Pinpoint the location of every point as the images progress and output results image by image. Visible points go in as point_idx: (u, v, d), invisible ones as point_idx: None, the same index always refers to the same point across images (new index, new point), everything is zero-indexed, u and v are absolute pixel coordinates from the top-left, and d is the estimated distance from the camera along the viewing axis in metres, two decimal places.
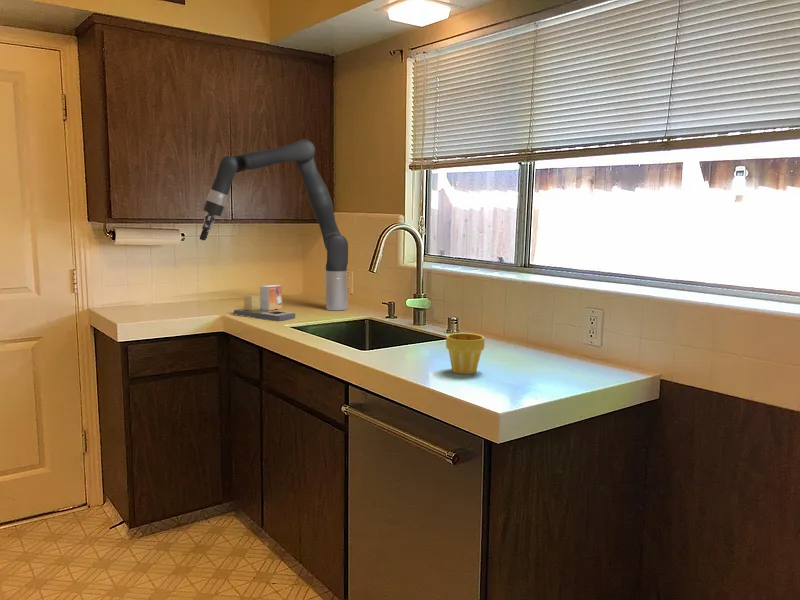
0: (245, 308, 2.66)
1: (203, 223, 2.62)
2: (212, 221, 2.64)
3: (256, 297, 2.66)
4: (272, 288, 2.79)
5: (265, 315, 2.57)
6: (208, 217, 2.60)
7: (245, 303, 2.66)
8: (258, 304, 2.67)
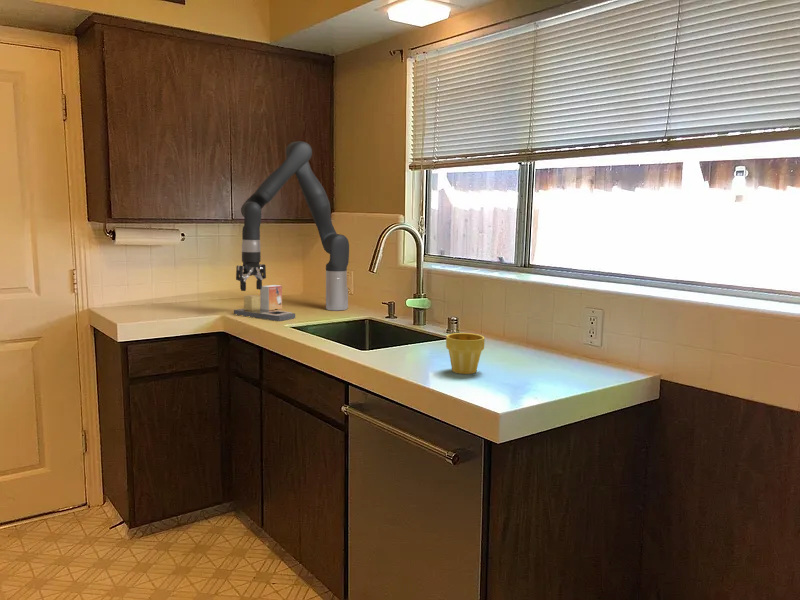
0: (245, 308, 2.66)
1: None
2: (249, 270, 2.62)
3: (256, 297, 2.66)
4: (272, 288, 2.79)
5: (265, 315, 2.57)
6: (237, 267, 2.60)
7: (245, 303, 2.66)
8: (258, 304, 2.67)
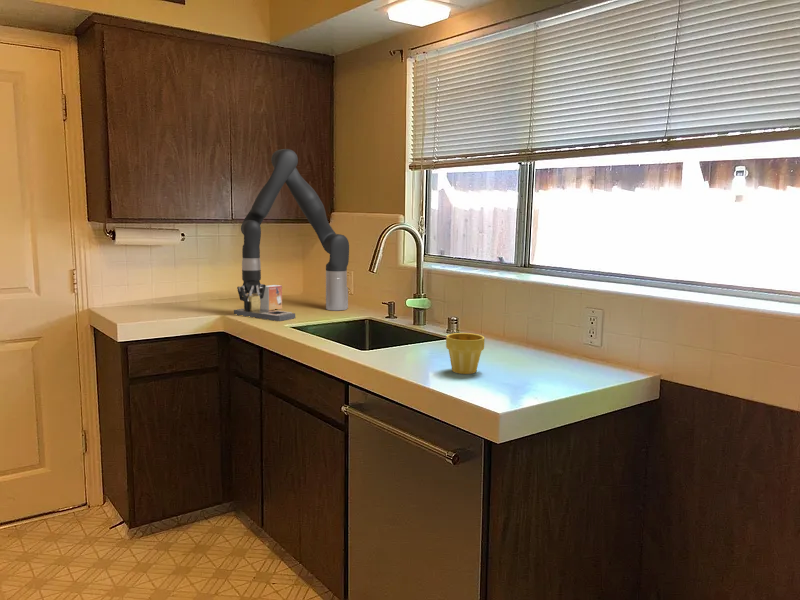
0: None
1: None
2: (250, 289, 2.64)
3: (256, 296, 2.66)
4: (272, 288, 2.79)
5: (265, 315, 2.57)
6: (238, 289, 2.61)
7: None
8: (257, 304, 2.67)
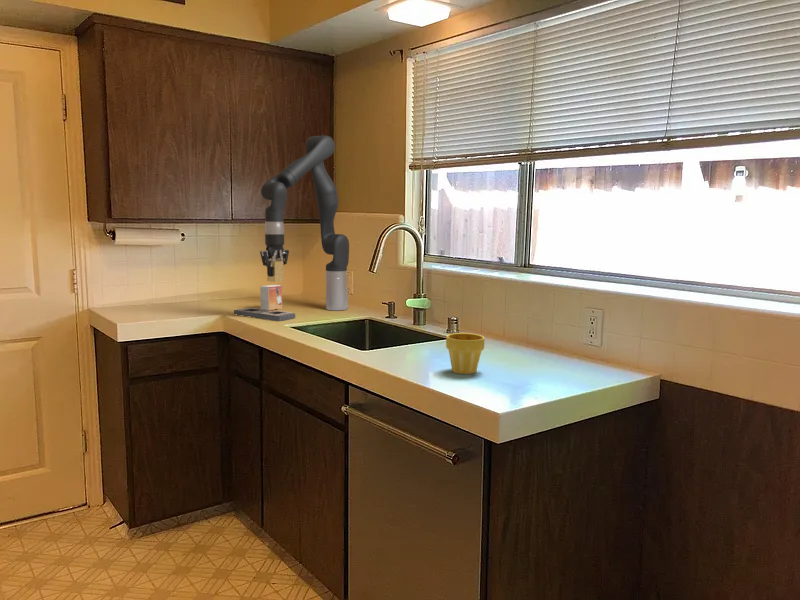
0: None
1: None
2: (273, 253, 2.54)
3: (280, 262, 2.57)
4: (272, 288, 2.79)
5: (265, 315, 2.57)
6: (261, 253, 2.52)
7: None
8: (281, 270, 2.58)
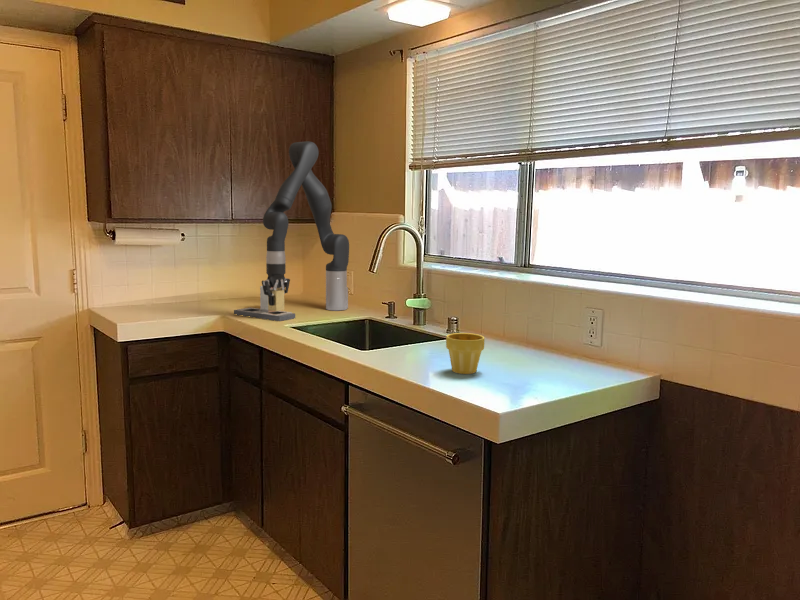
0: None
1: None
2: (274, 283, 2.55)
3: (281, 291, 2.58)
4: None
5: (265, 315, 2.57)
6: (263, 283, 2.53)
7: None
8: (282, 299, 2.59)
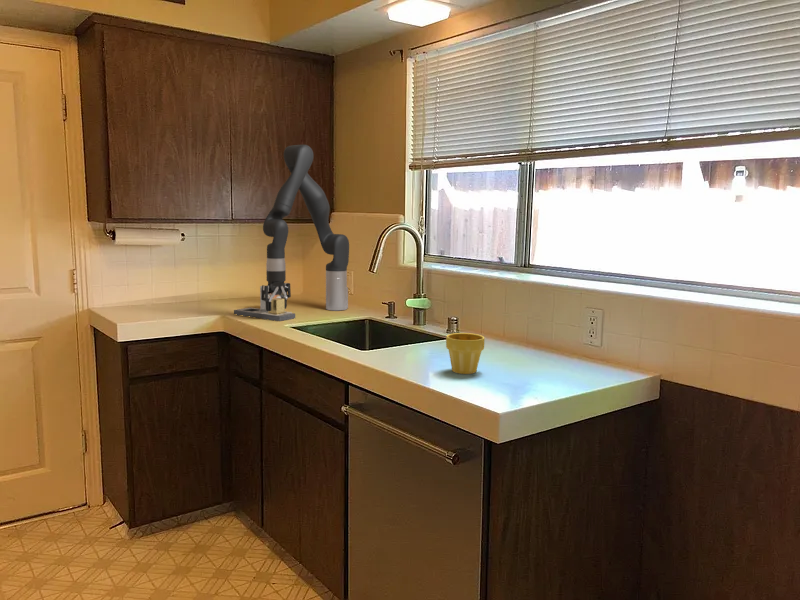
0: (269, 312, 2.59)
1: None
2: (274, 289, 2.56)
3: (281, 299, 2.58)
4: None
5: (265, 315, 2.57)
6: (262, 287, 2.53)
7: None
8: (282, 308, 2.59)
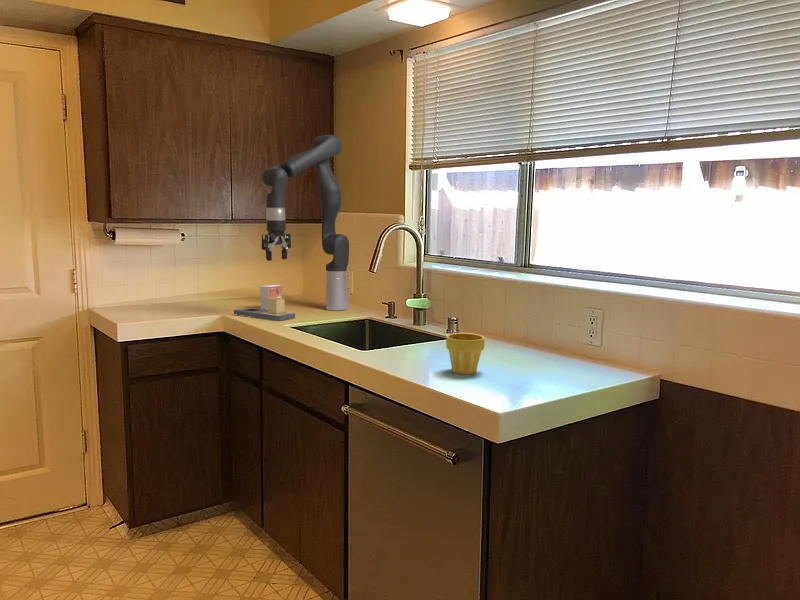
0: (269, 312, 2.59)
1: None
2: (274, 239, 2.55)
3: (281, 299, 2.58)
4: (272, 288, 2.79)
5: (265, 315, 2.57)
6: (263, 236, 2.52)
7: (269, 306, 2.58)
8: (282, 308, 2.59)
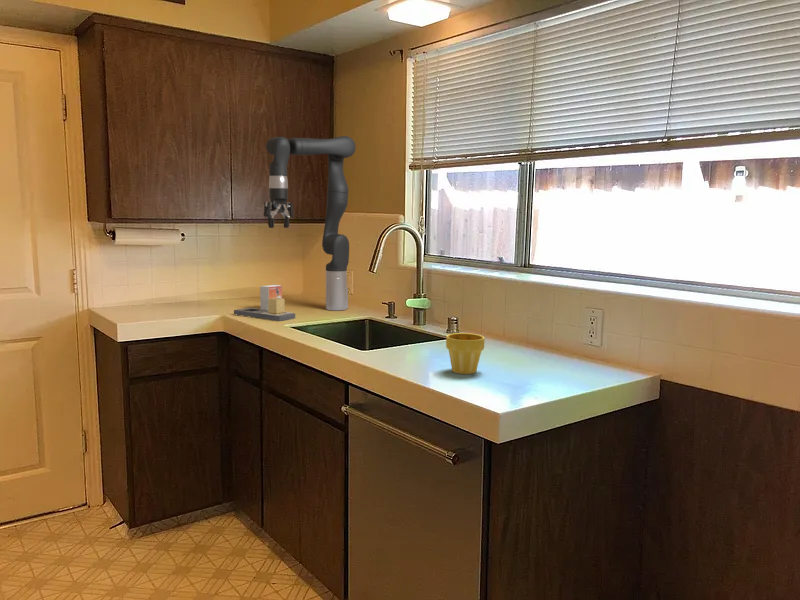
0: (269, 312, 2.59)
1: None
2: (277, 206, 2.60)
3: (281, 299, 2.58)
4: (272, 288, 2.79)
5: (265, 315, 2.57)
6: (265, 203, 2.57)
7: (269, 306, 2.58)
8: (282, 308, 2.59)
